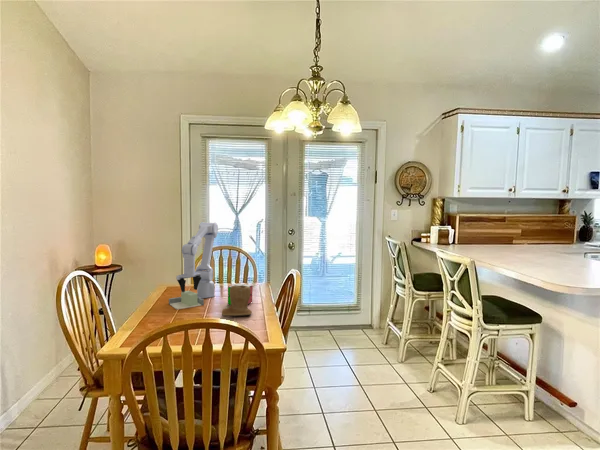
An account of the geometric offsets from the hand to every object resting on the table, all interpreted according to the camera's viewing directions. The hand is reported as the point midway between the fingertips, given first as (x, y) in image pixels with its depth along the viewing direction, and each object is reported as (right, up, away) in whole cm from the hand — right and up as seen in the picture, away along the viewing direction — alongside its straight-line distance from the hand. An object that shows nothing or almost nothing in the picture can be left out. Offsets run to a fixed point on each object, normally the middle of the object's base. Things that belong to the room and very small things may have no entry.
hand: (189, 290), depth 211 cm
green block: (0, -7, +1) cm, 7 cm away
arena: (-2, -8, +1) cm, 8 cm away
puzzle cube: (+27, -8, +5) cm, 29 cm away
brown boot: (+28, -10, -14) cm, 33 cm away
